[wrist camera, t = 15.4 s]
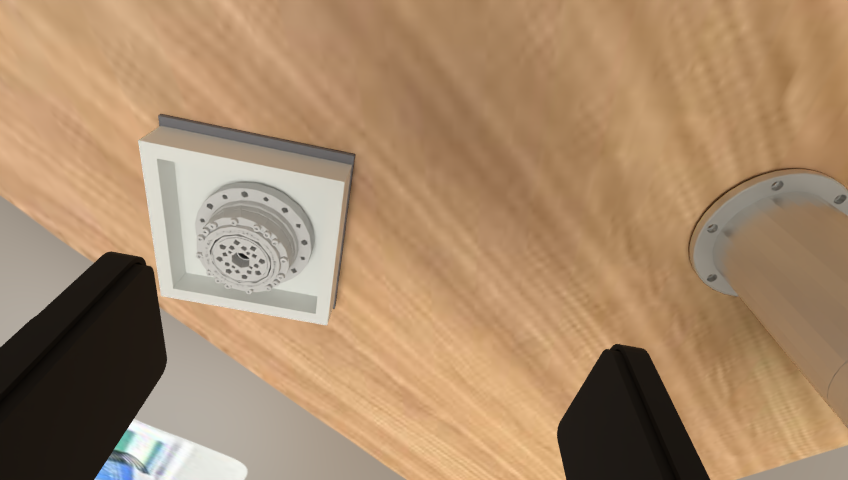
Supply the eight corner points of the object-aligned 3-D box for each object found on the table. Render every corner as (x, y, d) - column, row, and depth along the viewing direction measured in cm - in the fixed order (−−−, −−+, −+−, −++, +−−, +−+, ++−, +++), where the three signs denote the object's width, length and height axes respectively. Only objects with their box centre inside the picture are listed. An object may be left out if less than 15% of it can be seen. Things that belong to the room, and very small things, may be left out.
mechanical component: (338, 235, 41) (245, 157, 37) (327, 264, 37) (223, 181, 33) (270, 292, 45) (180, 226, 41) (255, 323, 41) (154, 255, 37)
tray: (351, 164, 38) (344, 182, 35) (334, 303, 46) (327, 325, 43) (160, 125, 37) (138, 140, 34) (178, 274, 45) (161, 296, 42)
